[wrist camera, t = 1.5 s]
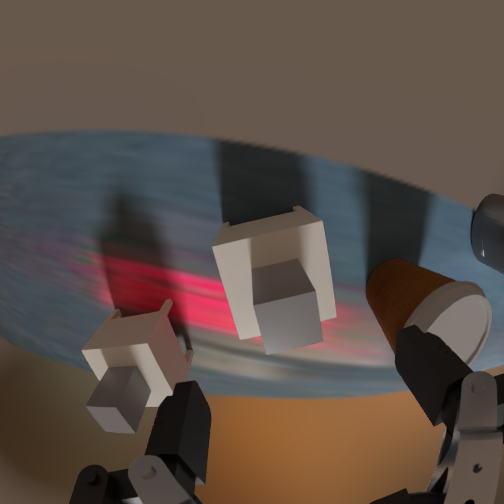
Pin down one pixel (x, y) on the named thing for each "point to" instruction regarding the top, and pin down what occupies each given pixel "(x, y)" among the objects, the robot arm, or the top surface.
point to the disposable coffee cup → (430, 306)
